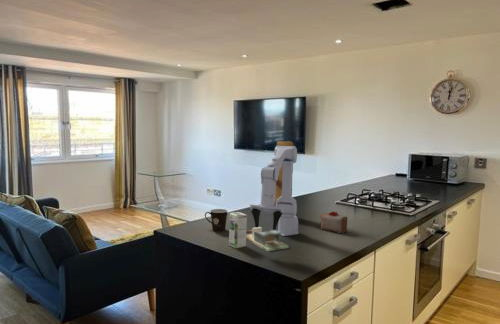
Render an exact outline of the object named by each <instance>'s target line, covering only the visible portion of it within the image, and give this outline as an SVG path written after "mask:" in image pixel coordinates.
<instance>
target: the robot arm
mask: <svg viewBox="0 0 500 324" xmlns="http://www.w3.org/2000/svg"><path fill="white" fill-rule="evenodd" d="M297 159H298V149H297V147H296V145H293V146H277V145H276V146H275V147H274V157H272V158H271V159H270V160H269V162H268V164H267V165H266V166H264V167H262V168H261V170H260V179H261V181H260V184H261V193H260V194H261V195H260V204H250V205H249V209H250V210H251V214H252V217H253V220H254V224H255V225H254V228H255V227H260V226H259V225H260V216H261V211H267V212H273V214H272V215H273V224H272V230H273V231H274V230H276V229H277V231H279V232H281V236H283V237H285V236H294V235H299V234H300V233H299V218H298V216H297V212H298V204H297V199H295V198H294V197H293V196H291V189H292V190H293V174H292V167H293V168H294V164H295V163H297V161H298V160H297ZM282 164H283V176H282V196H281V197H280V198H278V199H277V201H276V207H275V205H274V203H275V188H276V181H277V180H278V175H279V171H280V169H281V167H282ZM285 202H288V203H285ZM277 225H278V227H277Z"/></svg>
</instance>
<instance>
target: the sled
mask: <svg viewBox="0 0 500 324" xmlns="http://www.w3.org/2000/svg"><path fill="white" fill-rule="evenodd" d="M251 230H252V237H254V232H258V233H260V232H263V227H261V226H259V227H255V226H254V227H252V228H251ZM271 242H274V235H271V236H266V237H265V243H271Z"/></svg>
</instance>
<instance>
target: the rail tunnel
mask: <svg viewBox="0 0 500 324" xmlns="http://www.w3.org/2000/svg"><path fill="white" fill-rule="evenodd" d="M271 235H274V242H271V243H265V237H266V236H271ZM281 236H282V235H281V232H279V231H278V230H276V229H275V230H273V229H269V231H268V230H267V231H262V232H260V233H258V232H254V237H252V229H251V230H246V241H248V242H249V243H252V244H254V245H255V246H257V247H258V248H260V249H262V250H264V251H266V252H272V251H279V250H285V249H289V247H290V246H289V245H288V244H286V242H285V243H284V242H282V241H281V238H282V237H281Z"/></svg>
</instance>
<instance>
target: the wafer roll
mask: <svg viewBox="0 0 500 324" xmlns="http://www.w3.org/2000/svg"><path fill="white" fill-rule="evenodd" d="M276 146H295V145H294V142H293V141H290V140H286V141H284V140H278V141H277V142H276ZM293 171H294V166H293V167H292V175H293V173H294V172H293ZM282 176H283V164H282V167H281V169H280V171H279V175H278V180H277V181H276V188H275V201H274V207H276V201H277V199H278V198H280V197H281V196H282ZM292 195H293V188H292V189H291V196H292ZM292 197H293V196H292ZM285 203H288V202H285Z"/></svg>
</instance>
